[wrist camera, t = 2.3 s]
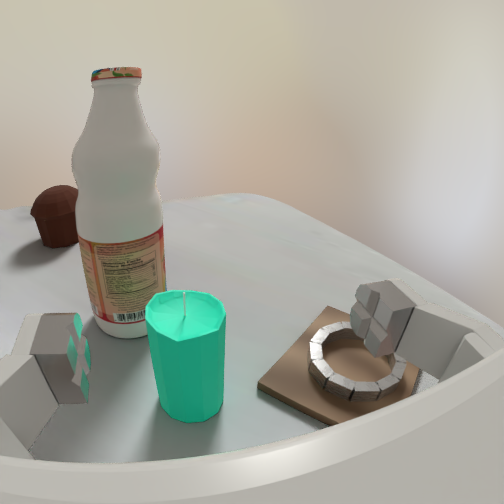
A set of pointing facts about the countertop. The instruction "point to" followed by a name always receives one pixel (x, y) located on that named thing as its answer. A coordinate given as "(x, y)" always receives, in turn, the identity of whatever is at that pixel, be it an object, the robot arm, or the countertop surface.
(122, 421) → the countertop surface
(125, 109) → the fruit juice
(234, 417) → the countertop surface
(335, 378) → the ring collar
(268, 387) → the ring board
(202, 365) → the candle
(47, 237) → the muffin
